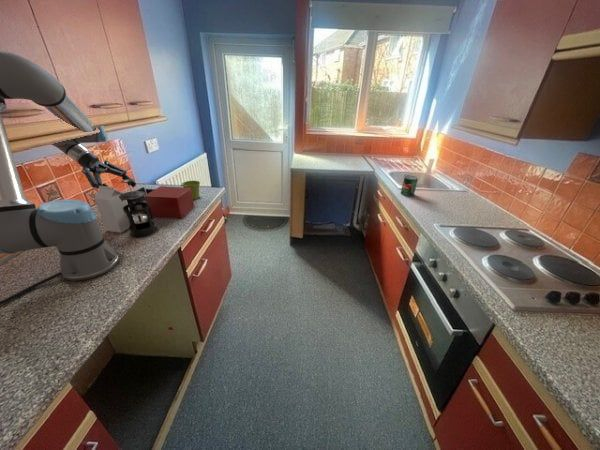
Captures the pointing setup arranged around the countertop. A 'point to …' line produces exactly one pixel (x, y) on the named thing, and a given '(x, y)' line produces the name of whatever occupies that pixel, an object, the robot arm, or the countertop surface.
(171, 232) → the countertop surface
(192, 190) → the plant pot
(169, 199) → the red drawer cabinet
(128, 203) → the black drawer
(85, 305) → the countertop surface
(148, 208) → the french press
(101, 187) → the milk carton
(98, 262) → the robot arm
